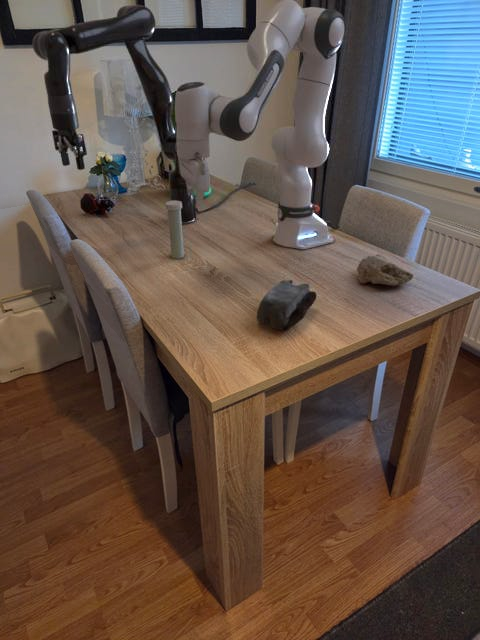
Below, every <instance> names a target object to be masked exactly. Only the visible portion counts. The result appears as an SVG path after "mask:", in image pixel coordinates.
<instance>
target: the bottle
mask: <svg viewBox="0 0 480 640" xmlns="http://www.w3.org/2000/svg"><path fill="white" fill-rule="evenodd" d="M167 217H168V218H167V219H168V220H167V221H168V230H169V242H170V251H171V252H170V254H171V255H170V256H171V258H172V259H175V260H178V259H183V258H184V257H185V253H184V251H185V250H184V237H183V227H182V226H183V224H182V221H181V209H180V210H167Z"/></svg>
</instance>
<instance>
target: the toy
mask: <svg viewBox="0 0 480 640" xmlns="http://www.w3.org/2000/svg"><path fill="white" fill-rule="evenodd" d="M101 196H102V193H101V192H97V193H96V194H95V195H94V194H93V193H91V192H90V193H84V195H83V196H82V197H81V198H80V200H79V201H80V203H79V204H80V209H81V210H82V211H83V212H84V213H85V214H88V215H92V216H98V217H106V218H109V216H108V215H107V213H108V214H113V213H114V212H115V209H114V207H115V206H116V204H117V201H116V200H115V199H114V198H113V197H111V196H110V197H107V196H102V197H101Z"/></svg>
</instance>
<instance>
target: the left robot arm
mask: <svg viewBox="0 0 480 640" xmlns="http://www.w3.org/2000/svg"><path fill="white" fill-rule="evenodd" d="M156 26H157V25H156V19H155V15H154V13H153V12H152V11H151V9H150V8H148V7H147V6H145V5H141V4H134V5H132V4H131V5H124V6H121V7H120V8H119V9H118V10H117V13H116V16H114V17H109V18H104V19H94V20H88V21H84V22H79V23H75V24H72V25H68V26H66V27H61V28H55V29H49V30H43V31H40V32H37V33H36V34H35V35H34V36H33V38H32V49H33V51H34V53H35V54H36V57H38V58H40V59H42V60H44V61H46V62H47V71H46V72H45V73H44V74H43V75H44V76H43V80H44V86H45V90H46V95H47V96H46V97H47V106H48V110H49V115H50V119H51V124H52V128H53V129H54V130H52V131H51V133H52V138H53V139H52V140H53V145H54V149H55V151H58V153H59V154H60V159H61V163H62V166H63V167H67V166H70V164H71V162H70V156H69V152H68V150H69V151H71V152H72V153H73V154H74V158H75V163H76V164H75V165H76V169H77V170H78V171H83V170H85V168H86V166H85V161H84V157H85V156H87V155H88V152H87V147H86V142H85V136H84V134H83V133H79V134H78V133H77V129H79V127H80V124H79V118H78V113H77V107H76V101H75V99H74V94H73V89H72V83H71V55H80V54H84V53H87V52H91V51H95V50H98V49H100V48H103V47H107V46H109V45H113V44H116V43H117V44H118V43H120V42H123V43H124V45H125V48H126V49H127V50H126V51H127V52H128V54H129V56H130V59H131V61H132V64H133V66H134V69H135V72H136V74H137V77H138V79H139V81H140V85H141V89H142V92H143V94H144V97H145V100H146V102H147V105H148V107H149V110H150V112H151V115H152V119H153V122H154V124H155V127H156V132H157V135H158V139H159V143H160V147H161V150H162V153H163V155H164V156H165V158H167V159H169V160H171V161H173V160H175V165H174V169H170V171H169V172H168V182H169V189H170V193H169V195H170V196H169V197H170V201H180V202H182V208H181V221H182V225H188V224H192V223H194V222H195V221H196V220H197V214H202V213H206V212H208V211H211V210H213V209H216V208H217V207H218V206H221V205H222V204H223V203H224V202H225V201H226V200H227V199H228V198H229V197H231V196H232V195H233V194H234V193H236V192H237V191H239V190H241V189H243V188H246V187H249V186H251V185H252V184H251V182H249V183H247V184H245V185H242V186H240V187H237V188H236V189H234V190H232V191H231V192H229V194H228V195H227V196H225V198H223V199H222V200H221V201H220V202H218V203H217V204H215V205H213V206H210V207H208V208H206V209H204V210H200V211H199V209H198V207H197V204H196V200H195V197H194V196H189V195H188V193H187V186H186V180H185V179H184V178H183V177H182V176H181V173H180V168H179V160H178V156H177V152H176V143H177V139H176V136H177V131H176V130H175V127H174V125H173V120H172V113H173V107H174V96H173V93H172V90H171V89H172V88H171V87H170V83H169V80H168V78H167V76H166V74H165V73H164V71H163V70H162V68H161V67H160V65H158V63H157V61H155V59H154V58H153V56H152V54H151V52H150V50H149V48H148V46H147V43H146V40H148V39H150V38H151V37H152V36H153V35H154V33H155V31H156ZM255 183H256V182H254V183H253V185H254V186H256V185H257V183H256V184H255Z"/></svg>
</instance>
